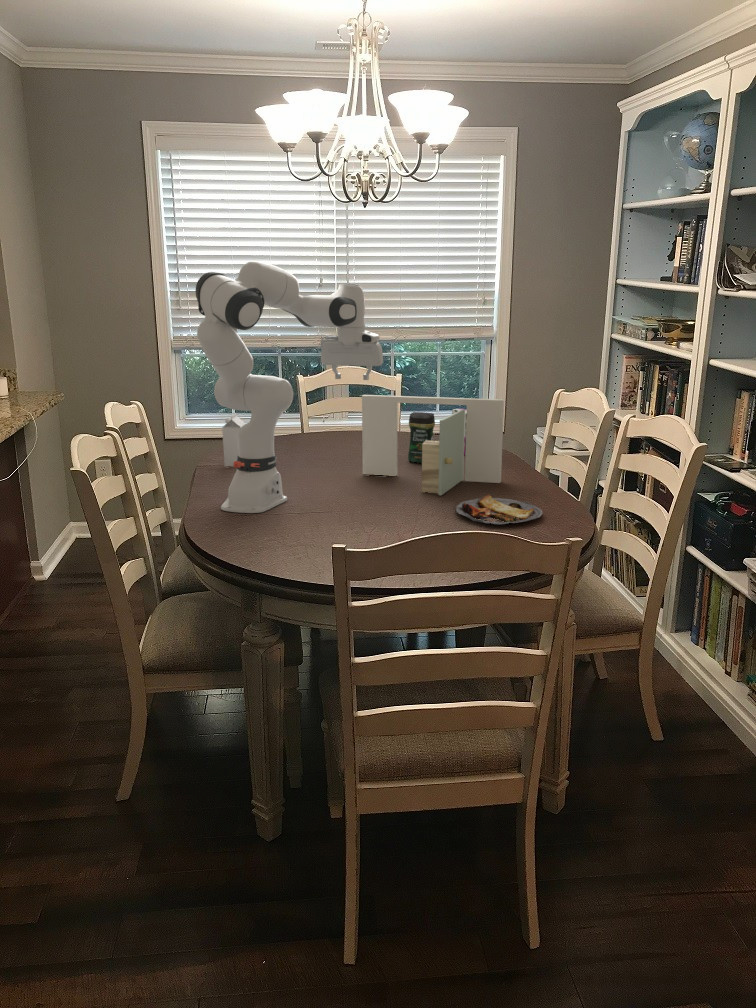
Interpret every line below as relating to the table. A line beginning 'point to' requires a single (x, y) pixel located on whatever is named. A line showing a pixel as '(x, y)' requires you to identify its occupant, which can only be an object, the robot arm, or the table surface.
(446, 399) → the door frame
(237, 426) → the milk carton
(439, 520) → the table surface
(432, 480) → the doorstop block
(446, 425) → the door
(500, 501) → the food plate
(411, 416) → the coffee jar
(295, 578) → the table surface
